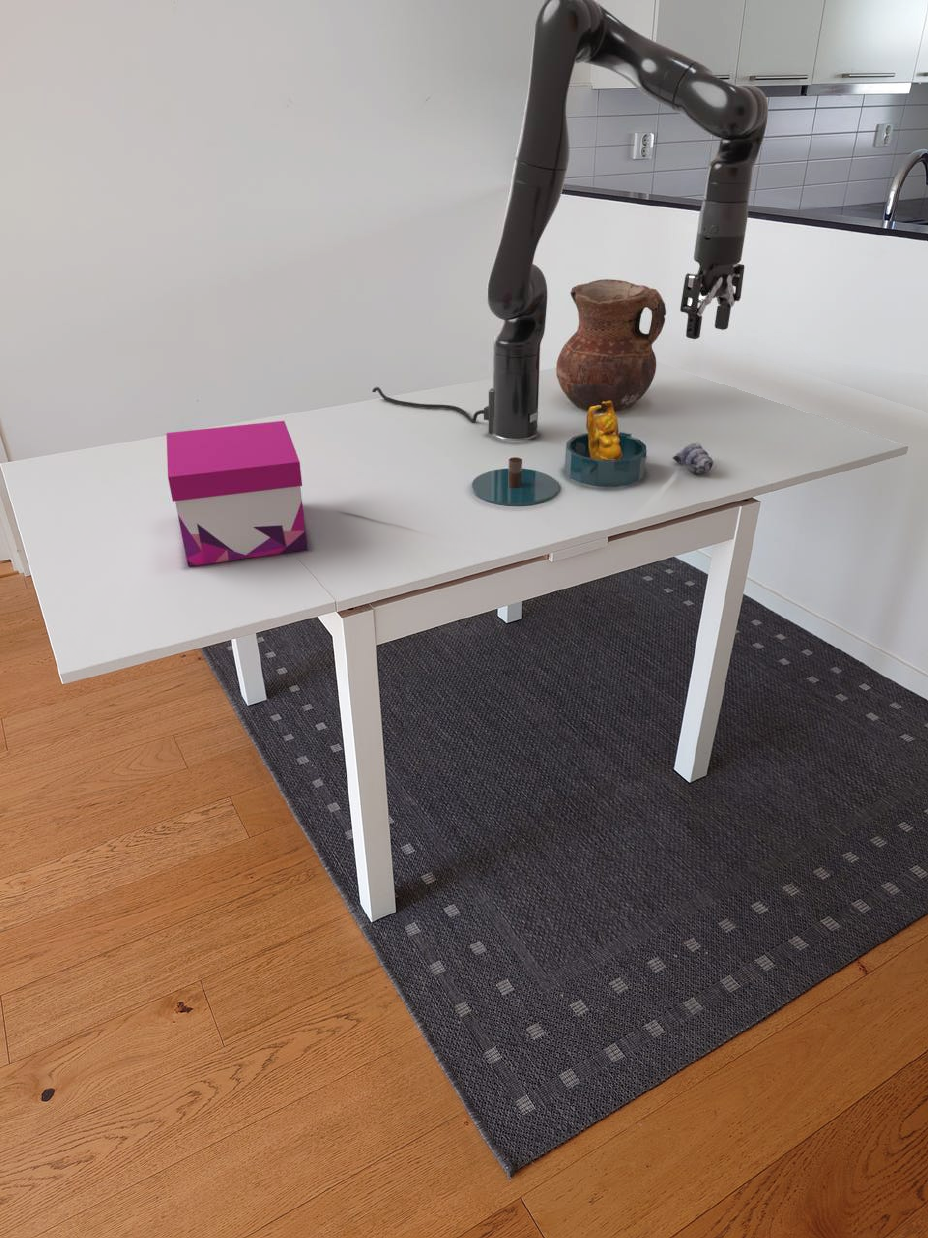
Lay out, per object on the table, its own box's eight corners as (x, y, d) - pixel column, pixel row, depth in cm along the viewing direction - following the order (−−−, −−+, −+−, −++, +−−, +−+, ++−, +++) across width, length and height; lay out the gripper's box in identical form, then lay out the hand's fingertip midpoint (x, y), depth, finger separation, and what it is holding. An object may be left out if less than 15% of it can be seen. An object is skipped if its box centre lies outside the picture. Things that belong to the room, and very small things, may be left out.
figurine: (612, 480, 162) (618, 412, 155) (580, 471, 166) (585, 404, 159) (629, 469, 166) (635, 402, 160) (598, 461, 170) (603, 396, 163)
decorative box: (309, 550, 141) (299, 461, 133) (186, 568, 136) (168, 477, 128) (294, 502, 156) (284, 420, 148) (182, 517, 152) (166, 432, 144)
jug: (558, 418, 192) (565, 298, 178) (550, 388, 209) (555, 277, 196) (661, 417, 192) (675, 297, 178) (643, 387, 209) (655, 276, 196)
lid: (455, 497, 157) (454, 466, 154) (497, 467, 169) (497, 438, 166) (534, 516, 151) (535, 483, 147) (572, 483, 162) (574, 453, 159)
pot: (545, 484, 162) (546, 456, 159) (589, 449, 176) (591, 423, 173) (620, 501, 155) (623, 472, 153) (659, 463, 170) (662, 436, 167)
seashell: (676, 466, 172) (704, 487, 164) (664, 448, 169) (692, 468, 161) (698, 447, 171) (727, 467, 163) (686, 428, 168) (715, 448, 160)
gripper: (725, 223, 149) (711, 322, 157) (675, 232, 141) (663, 336, 149) (765, 228, 144) (748, 329, 153) (716, 238, 136) (701, 345, 145)
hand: (706, 333), depth 151 cm, fingers open, 8 cm apart
